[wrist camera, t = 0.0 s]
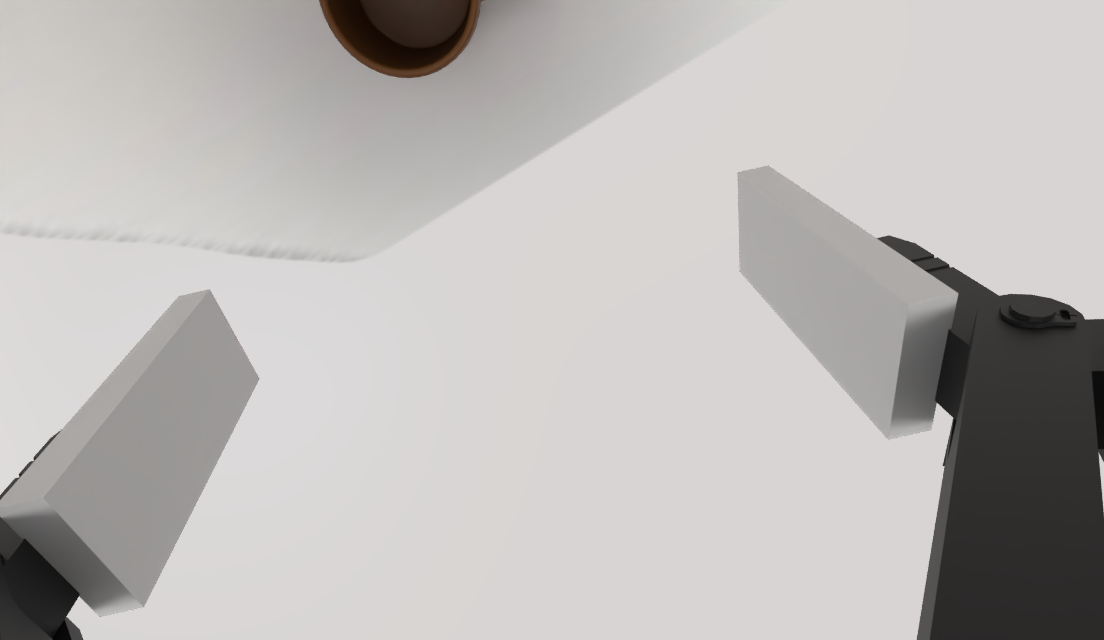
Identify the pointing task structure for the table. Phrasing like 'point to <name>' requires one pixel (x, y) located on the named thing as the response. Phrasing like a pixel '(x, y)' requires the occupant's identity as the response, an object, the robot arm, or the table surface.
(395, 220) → the table surface
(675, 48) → the table surface
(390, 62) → the mug
